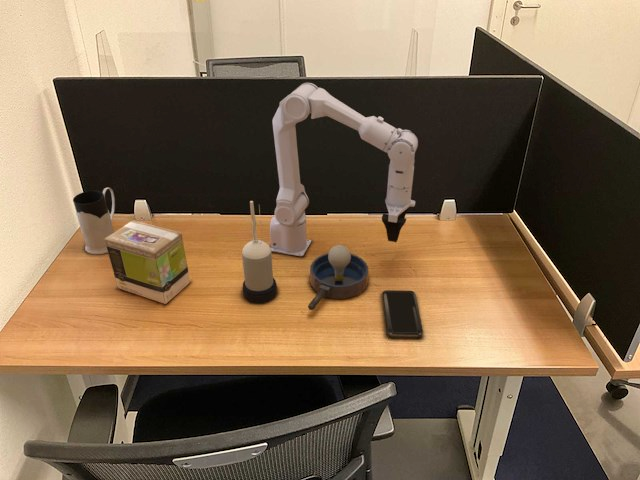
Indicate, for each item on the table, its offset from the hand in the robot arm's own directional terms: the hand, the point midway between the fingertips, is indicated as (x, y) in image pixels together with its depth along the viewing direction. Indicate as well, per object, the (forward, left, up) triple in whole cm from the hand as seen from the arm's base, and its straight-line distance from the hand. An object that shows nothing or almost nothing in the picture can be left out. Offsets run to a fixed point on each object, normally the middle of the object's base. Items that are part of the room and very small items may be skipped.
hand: (395, 232), depth 126 cm
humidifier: (-28, -21, -10) cm, 37 cm away
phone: (+6, -19, -10) cm, 22 cm away
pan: (-11, -11, -10) cm, 18 cm away
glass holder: (-78, -12, -10) cm, 80 cm away
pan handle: (-13, -21, -8) cm, 26 cm away
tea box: (-54, -26, -10) cm, 61 cm away
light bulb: (-11, -11, -10) cm, 18 cm away
